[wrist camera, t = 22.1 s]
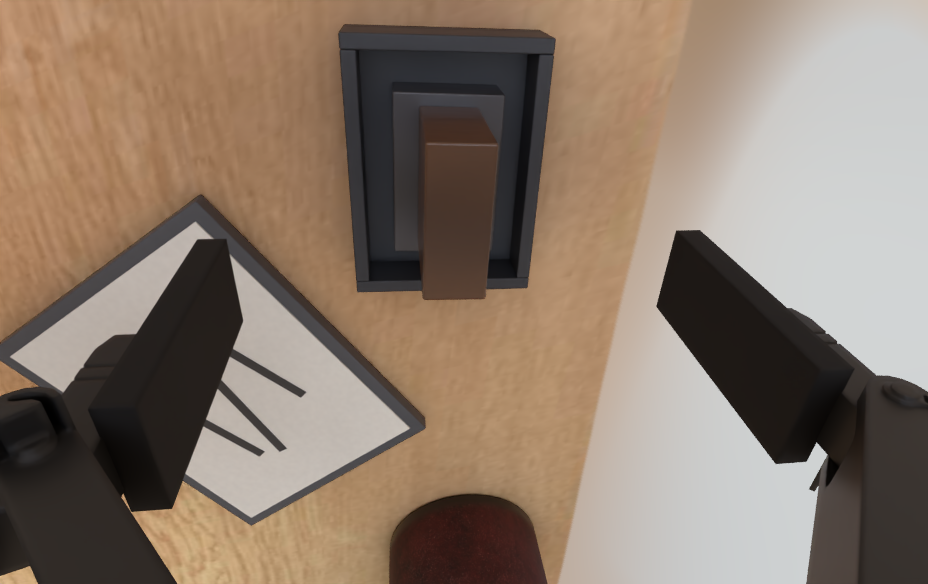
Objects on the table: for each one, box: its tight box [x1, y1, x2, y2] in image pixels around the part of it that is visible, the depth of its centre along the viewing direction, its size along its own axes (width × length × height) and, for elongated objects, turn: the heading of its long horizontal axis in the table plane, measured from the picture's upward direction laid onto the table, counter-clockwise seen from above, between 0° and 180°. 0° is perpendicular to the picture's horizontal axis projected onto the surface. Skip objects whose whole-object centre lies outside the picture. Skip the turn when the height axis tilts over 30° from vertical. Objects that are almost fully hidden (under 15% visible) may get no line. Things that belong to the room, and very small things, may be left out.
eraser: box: [392, 82, 505, 300], centre depth 22 cm, size 7×4×7 cm, turn 177°
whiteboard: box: [0, 195, 426, 525], centre depth 31 cm, size 18×14×1 cm
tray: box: [338, 24, 556, 292], centre depth 25 cm, size 11×8×3 cm
